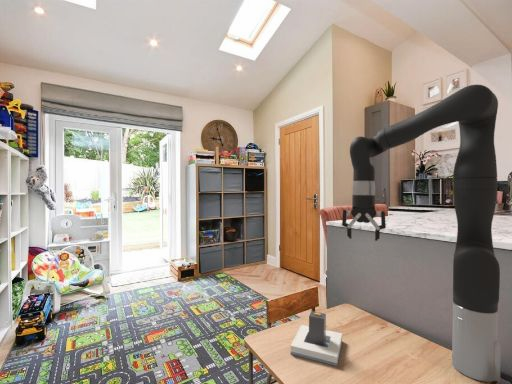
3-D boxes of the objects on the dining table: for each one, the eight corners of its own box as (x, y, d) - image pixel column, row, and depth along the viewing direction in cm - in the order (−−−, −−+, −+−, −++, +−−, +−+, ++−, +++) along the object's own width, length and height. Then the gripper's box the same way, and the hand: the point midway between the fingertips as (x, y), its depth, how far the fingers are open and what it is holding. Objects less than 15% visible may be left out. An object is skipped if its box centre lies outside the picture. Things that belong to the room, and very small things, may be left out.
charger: (325, 343, 82) (325, 312, 82) (323, 349, 78) (324, 317, 78) (311, 339, 83) (311, 309, 83) (308, 346, 80) (309, 314, 80)
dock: (342, 341, 84) (342, 333, 84) (337, 366, 72) (337, 356, 72) (301, 332, 89) (301, 324, 89) (290, 354, 77) (290, 345, 77)
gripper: (341, 193, 94) (341, 239, 94) (386, 194, 89) (385, 243, 89) (343, 193, 101) (343, 236, 101) (385, 194, 95) (384, 239, 96)
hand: (363, 239), depth 95 cm, fingers open, 8 cm apart
